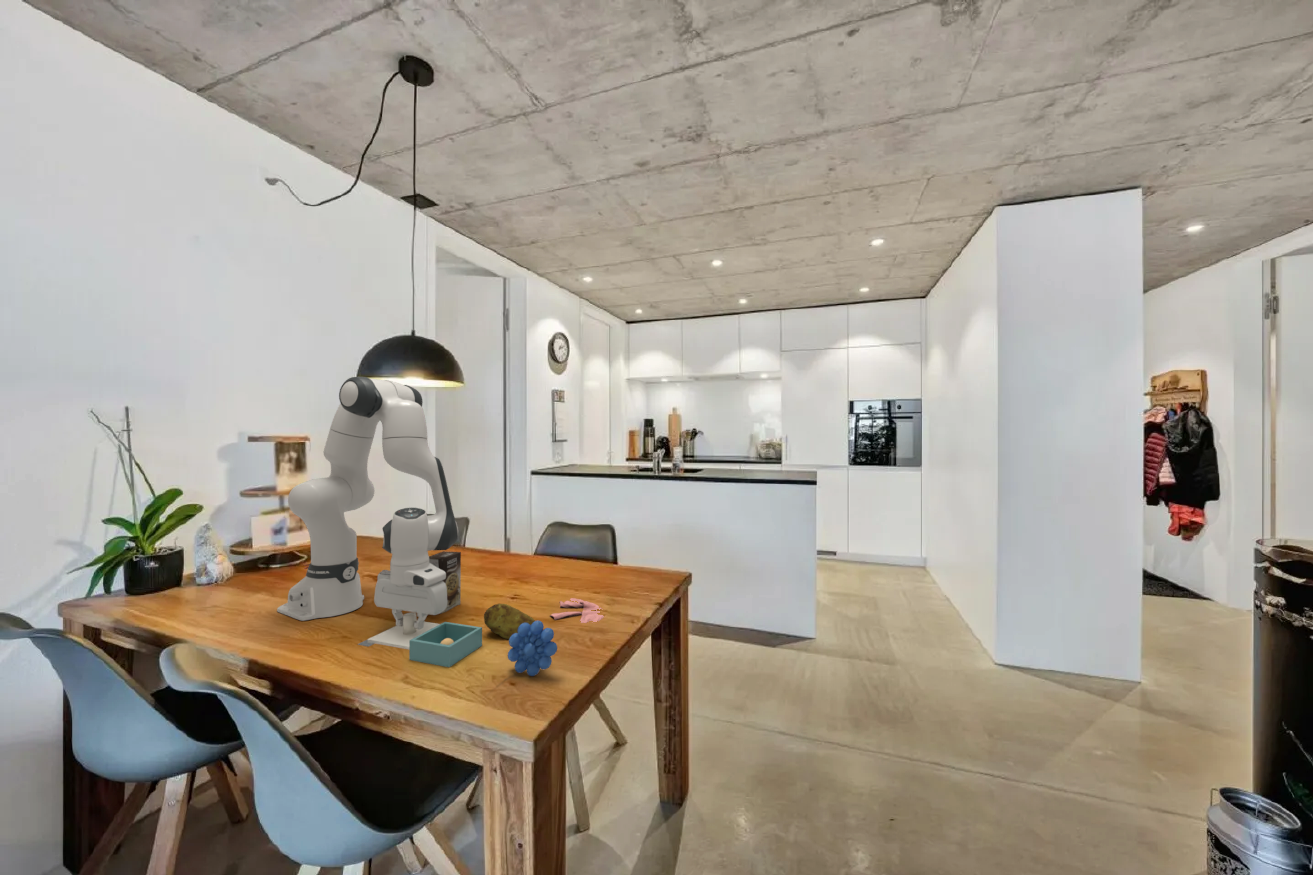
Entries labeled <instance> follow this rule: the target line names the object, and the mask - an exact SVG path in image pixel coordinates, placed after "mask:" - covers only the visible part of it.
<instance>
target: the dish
mask: <svg viewBox="0 0 1313 875" xmlns="http://www.w3.org/2000/svg"><path fill="white" fill-rule="evenodd" d="M439 624H440V625H438V626H436V627H434V628H432V629H430V630H428V631H426V632H424V633H423V634H421V635H419V636H417V637H415V638H413V639H411V640H409V649H408V651H409V654H408V655H409V658H408V660H409V661H414V662H420V663H424V664H429V665H435V666H440V667H444V668H451V667H452V666H454V665H455V664H457V663H458V662H460V661H461V660H463V659H464V658H465V657H467V656H469V655H470V654H472V653H473V652H475V651H476V650H478V649H479V648H481V647H482V646H483V627H481V626H475V625H468V624H462V623H455V622H447V621H444V622H441V623H439ZM446 638H450V639H452V640H453V641H454V642H453V643H452V644H450V645H445V644H440V643H441V641H442V640H444V639H446Z"/></svg>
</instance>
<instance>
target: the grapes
mask: <svg viewBox="0 0 1313 875" xmlns="http://www.w3.org/2000/svg"><path fill="white" fill-rule="evenodd" d="M544 627H545V626H544V622H543V621H541V620H539V619H537V620H535V621H534V622H533V623H532V624H531V626H530V624H528V623H522V624H521V625H520V626H519V627H518V630H517V631H518V633H514V634H512V635H511V637H510V638H509V639H508V644H509V647H510V649H509V650H508V652H507V660H509V661H510V662H515V663H514V670H515V672H517V673H518V674H522V673H524V672H526V674H527V675H528V676H530V677H534V676H536V675H538V674H539V672H540V669H541V670H543V671H544V670H547V669H549V668H550V667H551V665H552V663H553V662H552V657H553V656H554V655H555V654H556V653H557V651H558V645H557V643H556V642H555V641H552V640H553V639H554V636H555V633H554V630H553V629H552V628H551V627H546V628H544Z"/></svg>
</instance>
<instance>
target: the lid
mask: <svg viewBox="0 0 1313 875" xmlns="http://www.w3.org/2000/svg"><path fill="white" fill-rule="evenodd" d="M417 620H418V619H417V612H410V611H409V612H406V613H403V626H396V625H395V626H392V627H390V628H388V629H387V630H383V631H382V632H380V633H378V634H376V635H374V636H371V637H369V638H367V639H366V640H367V643H372V644H373V645H375V644H376V645H381V646H382V645H383V646H388V647H394V648H399V649H405V650H409V640H411V639H413V638H415V637H417V636H419V635H421V634H423V633H424V632H426V631H428V630H430V629H432V628H434V627H436V626H438V625H440V624H441V623H437V622H436V623H435V622H429V621H424V627H423V628H422V629H420V630H419V629H414V622H416V621H417Z"/></svg>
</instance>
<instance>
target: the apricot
mask: <svg viewBox="0 0 1313 875" xmlns="http://www.w3.org/2000/svg"><path fill="white" fill-rule="evenodd" d="M453 642H454V641H453V640H452V639H450V638H446V639H444V640H442V641H441V643H440V644H445V645H450V644H452V643H453Z"/></svg>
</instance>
